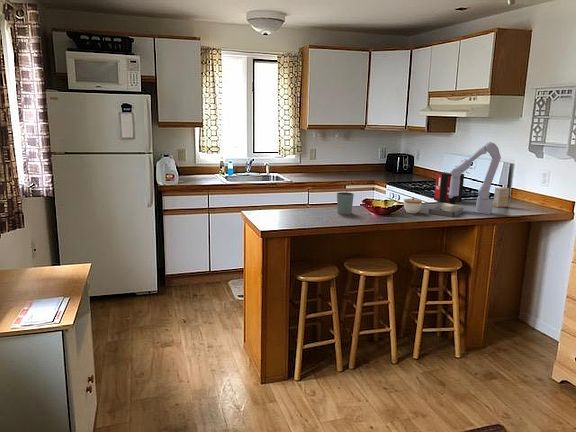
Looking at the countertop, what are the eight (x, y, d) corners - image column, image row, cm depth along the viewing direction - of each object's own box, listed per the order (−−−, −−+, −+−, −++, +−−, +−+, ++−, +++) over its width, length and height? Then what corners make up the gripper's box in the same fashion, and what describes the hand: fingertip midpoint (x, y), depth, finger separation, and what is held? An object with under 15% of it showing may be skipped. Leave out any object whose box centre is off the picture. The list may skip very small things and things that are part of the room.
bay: (463, 212, 304) (463, 207, 303) (454, 217, 287) (454, 212, 287) (438, 208, 312) (439, 204, 312) (428, 213, 296) (429, 208, 295)
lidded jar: (404, 210, 305) (405, 195, 303) (421, 211, 301) (423, 197, 299) (401, 213, 295) (403, 198, 293) (419, 214, 291) (421, 199, 289)
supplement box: (502, 205, 331) (504, 187, 328) (507, 207, 327) (509, 188, 324) (492, 206, 328) (494, 187, 326) (497, 207, 324) (499, 188, 321)
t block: (459, 211, 306) (460, 205, 306) (455, 213, 298) (455, 207, 298) (443, 209, 312) (444, 203, 311) (439, 211, 304) (439, 205, 303)
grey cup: (350, 215, 283) (351, 195, 281) (333, 213, 287) (334, 193, 284) (354, 212, 293) (355, 192, 290) (338, 210, 296) (339, 191, 294)
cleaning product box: (439, 202, 339) (442, 173, 335) (433, 199, 347) (436, 172, 343) (461, 202, 341) (464, 174, 337) (455, 199, 350) (458, 172, 346)
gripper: (451, 185, 315) (449, 205, 318) (444, 187, 304) (442, 208, 306) (462, 186, 311) (460, 206, 314) (456, 188, 300) (453, 209, 303)
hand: (452, 207), depth 310 cm, fingers closed
